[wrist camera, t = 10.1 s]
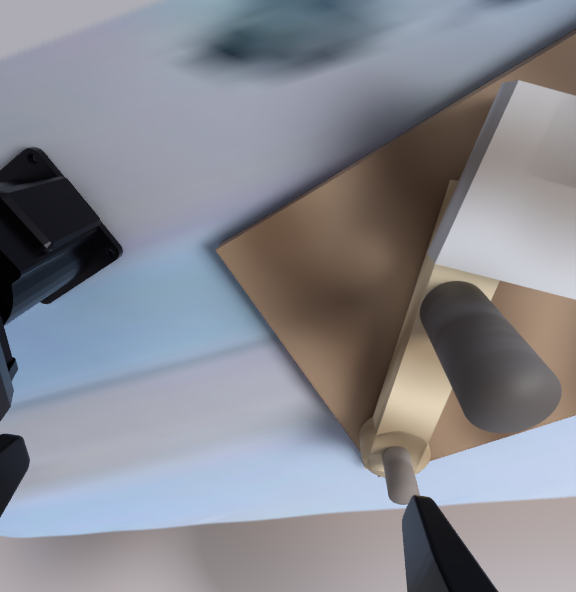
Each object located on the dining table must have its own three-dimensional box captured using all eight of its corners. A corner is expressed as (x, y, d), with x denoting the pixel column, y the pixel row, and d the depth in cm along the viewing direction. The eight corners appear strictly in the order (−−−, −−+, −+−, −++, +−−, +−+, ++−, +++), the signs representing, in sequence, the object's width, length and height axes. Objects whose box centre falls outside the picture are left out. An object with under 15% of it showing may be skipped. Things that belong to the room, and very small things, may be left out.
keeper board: (376, 464, 26) (387, 533, 22) (217, 239, 20) (188, 275, 15) (690, 362, 21) (786, 428, 16) (614, -3, 14) (742, -52, 10)
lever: (413, 462, 24) (448, 597, 17) (353, 452, 24) (364, 583, 17) (530, 192, 16) (676, 250, 9) (439, 177, 16) (520, 225, 9)
